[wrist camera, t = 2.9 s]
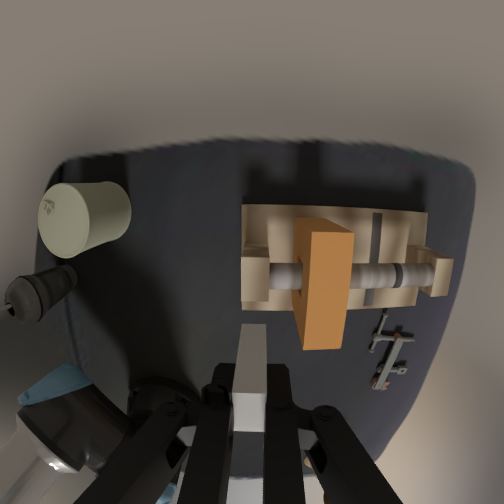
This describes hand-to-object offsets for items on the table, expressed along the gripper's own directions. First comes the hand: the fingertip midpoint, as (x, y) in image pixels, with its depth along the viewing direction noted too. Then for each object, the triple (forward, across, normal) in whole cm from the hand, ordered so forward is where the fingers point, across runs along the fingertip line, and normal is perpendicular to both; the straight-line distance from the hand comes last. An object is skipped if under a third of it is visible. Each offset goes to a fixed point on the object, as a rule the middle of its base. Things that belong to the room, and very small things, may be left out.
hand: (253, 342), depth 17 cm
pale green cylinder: (+23, -23, +7) cm, 33 cm away
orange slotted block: (+21, +7, 0) cm, 22 cm away
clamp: (+23, +23, -17) cm, 37 cm away
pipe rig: (+23, +12, 0) cm, 25 cm away
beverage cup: (+23, -33, -4) cm, 40 cm away
